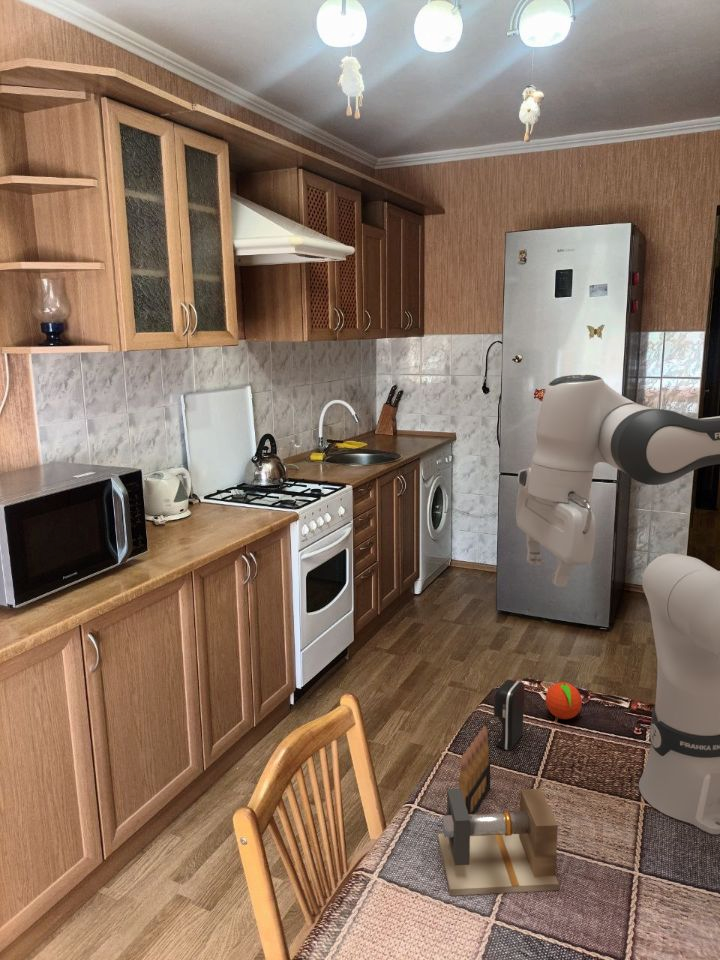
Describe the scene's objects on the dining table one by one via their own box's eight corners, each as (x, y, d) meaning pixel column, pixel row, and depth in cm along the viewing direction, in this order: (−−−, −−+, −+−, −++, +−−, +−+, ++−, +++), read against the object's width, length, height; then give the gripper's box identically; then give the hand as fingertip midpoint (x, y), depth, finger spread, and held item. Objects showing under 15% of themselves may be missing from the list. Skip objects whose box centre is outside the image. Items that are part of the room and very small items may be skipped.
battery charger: (504, 729, 138) (505, 674, 136) (523, 734, 136) (525, 679, 134) (490, 746, 133) (491, 690, 130) (510, 752, 131) (512, 695, 128)
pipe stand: (535, 834, 109) (537, 782, 108) (558, 890, 99) (561, 832, 97) (437, 839, 109) (438, 786, 107) (450, 895, 98) (450, 837, 96)
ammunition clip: (466, 827, 111) (467, 757, 109) (455, 823, 112) (456, 754, 110) (490, 789, 121) (491, 724, 118) (479, 785, 121) (481, 721, 119)
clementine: (587, 728, 138) (589, 694, 136) (551, 729, 138) (553, 695, 136) (574, 707, 146) (576, 674, 144) (540, 708, 146) (542, 675, 144)
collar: (460, 830, 106) (460, 788, 105) (469, 864, 100) (470, 820, 98) (446, 830, 106) (447, 788, 105) (455, 865, 99) (455, 821, 98)
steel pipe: (534, 824, 104) (535, 805, 104) (540, 839, 101) (541, 819, 101) (442, 828, 104) (442, 809, 103) (445, 843, 101) (445, 824, 100)
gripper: (614, 503, 96) (597, 600, 99) (551, 472, 116) (538, 553, 119) (570, 501, 95) (554, 599, 98) (514, 469, 115) (502, 552, 118)
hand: (545, 574), depth 109 cm, fingers open, 8 cm apart
